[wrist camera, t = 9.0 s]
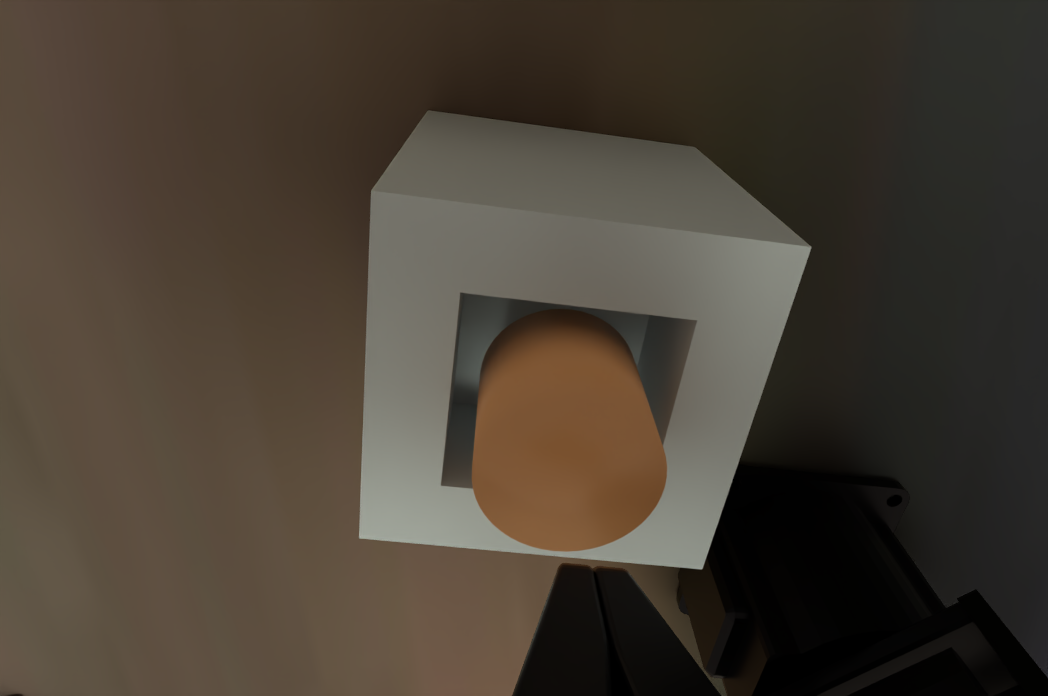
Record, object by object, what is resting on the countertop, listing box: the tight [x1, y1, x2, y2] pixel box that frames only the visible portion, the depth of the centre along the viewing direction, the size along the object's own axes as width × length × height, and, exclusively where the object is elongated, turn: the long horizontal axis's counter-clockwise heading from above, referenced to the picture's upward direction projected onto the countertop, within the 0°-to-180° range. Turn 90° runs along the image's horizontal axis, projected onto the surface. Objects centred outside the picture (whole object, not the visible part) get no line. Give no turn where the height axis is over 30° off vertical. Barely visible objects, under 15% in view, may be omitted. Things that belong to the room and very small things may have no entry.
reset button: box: [472, 309, 667, 552], centre depth 12 cm, size 3×3×3 cm
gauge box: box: [359, 110, 811, 569], centre depth 16 cm, size 7×7×8 cm
